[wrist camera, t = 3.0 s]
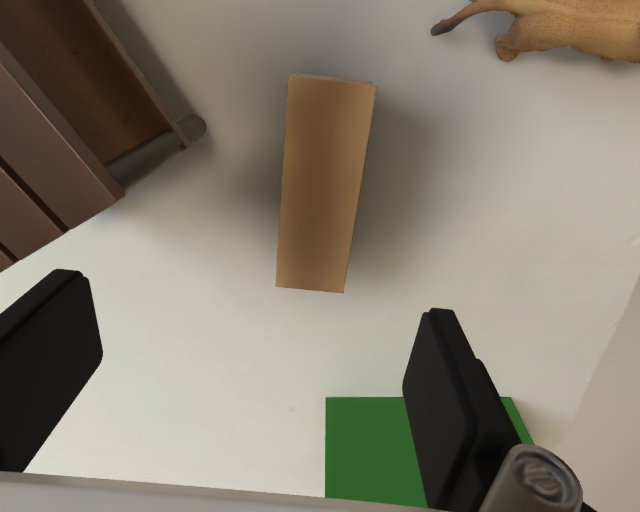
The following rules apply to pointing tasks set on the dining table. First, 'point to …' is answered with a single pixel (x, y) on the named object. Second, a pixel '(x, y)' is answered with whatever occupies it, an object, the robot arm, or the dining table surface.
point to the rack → (72, 122)
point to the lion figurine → (562, 26)
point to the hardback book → (379, 451)
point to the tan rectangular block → (321, 178)
